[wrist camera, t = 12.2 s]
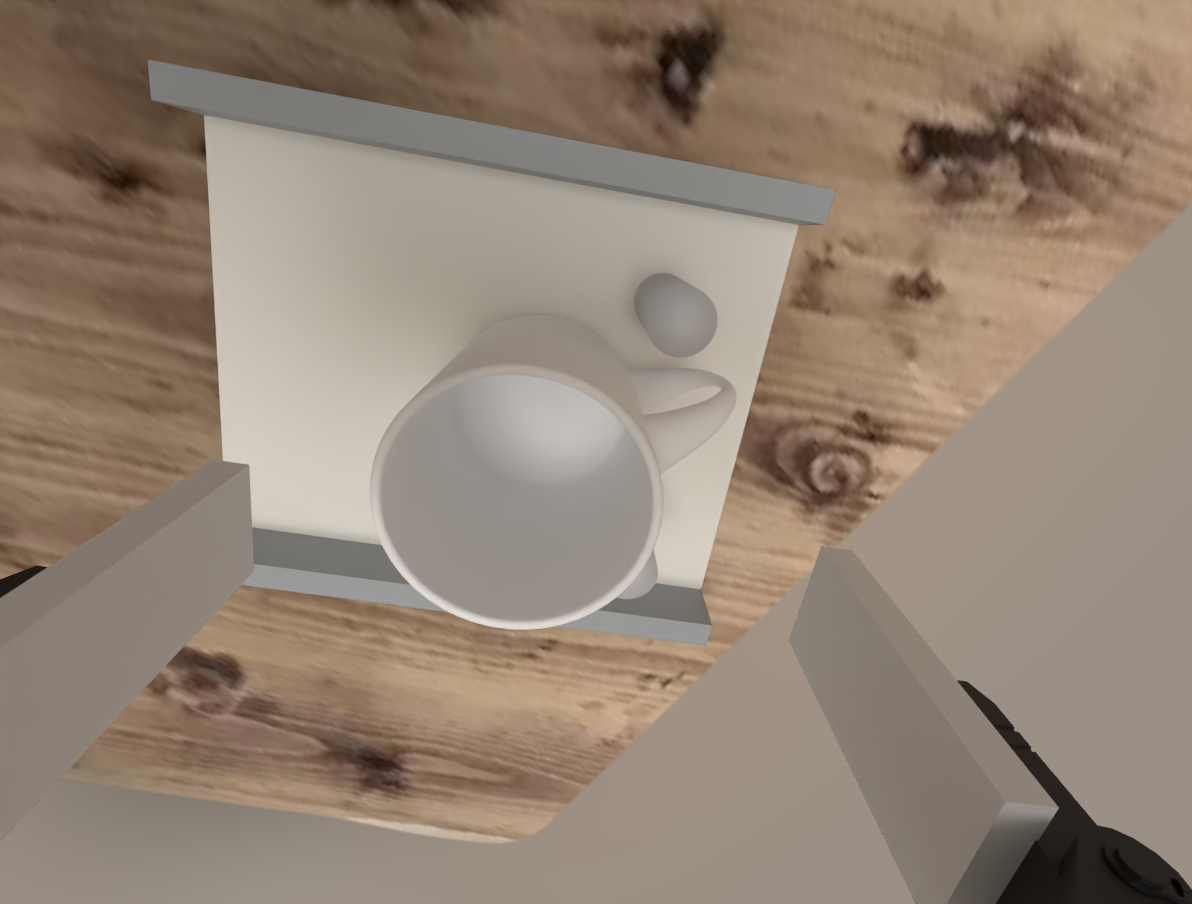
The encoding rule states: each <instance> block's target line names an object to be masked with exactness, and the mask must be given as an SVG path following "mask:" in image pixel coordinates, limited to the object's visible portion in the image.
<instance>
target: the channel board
mask: <svg viewBox="0 0 1192 904" xmlns="http://www.w3.org/2000/svg"><path fill="white" fill-rule="evenodd" d="M148 68H149V80H150V92H151V100H153V101H157V102H160V103H164V104H167V105H171V106H174V107H178V108H181V109H184V110H188V111H191V112H195V113H198V114H202V115H204V124H205V142H206V160H207V178H208V196H209V214H210V232H211V250H212V268H213V286H214V304H215V322H216V340H217V359H218V377H219V395H220V413H221V431H222V449H223V461H227V462H234V463H241V464H248V465H249V470H250V491H251V513H252V535H253V557H254V572H253V573H252V574H251V575H250V576H249V577H248V578H247V579H246V580H245V581H244V582H243V584H242V585H247V586H255V587H262V588H270V589H277V590H285V591H292V592H300V593H308V594H315V595H323V596H330V597H338V598H346V599H353V600H361V601H368V602H376V603H384V604H391V605H399V606H406V607H414V608H421V609H429V610H437V611H444V612H448V611H446V610H444V609H442V608H440V607H439V606H437V605H436V604H434V603H432V602H431V601H429V600H428V599H427V598H425V597H424V596H423V595H422V594H420V593H419V592H418V591H417V590H416V589H414V588H413V587H412V586H411V585H410V584H409V583H408V582H407V580H406V579H405V578H404V577H403V576H402V575H401V574H400V573H399V571H398V570H397V569H396V567H395V566H394V565H393V563H392V562H391V560H390V559H389V557H388V555H387V553H386V552H385V550H384V548H383V546H382V544H381V541H380V539H379V536H378V534H377V531H376V528H375V524H374V520H373V516H372V511H371V502H370V476H371V471H372V466H373V461H374V458H375V455H376V452H377V449H378V446H379V443H380V441H381V439H382V438H383V436H384V434H385V432H386V430H387V428H388V426H389V425H390V424H391V422H392V421H393V420H394V418H395V417H396V416H397V414H398V413H399V412H400V411H401V410H402V409H403V408H404V407H405V406H406V405H407V404H408V403H409V402H410V401H411V400H412V399H413V398H414V397H415V396H416V395H417V394H418V393H419V392H420V391H421V390H422V389H423V388H424V387H425V386H426V385H427V384H428V383H429V382H430V381H431V380H432V379H433V378H434V377H435V376H436V375H437V374H438V373H439V372H440V371H441V370H442V369H443V368H444V367H445V366H446V365H447V364H448V363H449V362H450V361H451V360H452V359H453V358H454V357H455V356H456V355H457V354H458V353H459V352H460V351H461V350H463V349H464V348H465V347H466V346H467V345H468V344H469V343H470V342H471V341H472V340H473V339H474V338H476V337H477V336H478V335H480V334H481V333H482V332H484V331H485V330H487V329H489V328H491V327H492V326H494V325H496V324H498V323H501V322H503V321H506V320H508V319H512V318H516V317H520V316H528V315H550V316H556V317H562V318H565V319H568V320H572V321H575V322H577V323H579V324H581V325H583V326H586V327H587V328H589V329H591V330H592V331H594V332H595V333H597V334H598V335H600V336H601V337H602V338H603V339H604V340H605V341H607V342H608V343H609V344H610V346H611V347H612V348H613V349H614V350H615V351H616V352H617V354H618V355H619V357H620V358H621V360H622V361H623V363H624V364H625V366H626V367H627V369H629V370H641V369H654V368H692V369H699V370H704V371H708V372H712V373H715V374H717V375H720V376H722V377H724V378H725V379H727V380H728V381H729V382H730V383H732V385H733V386H734V388H735V390H736V399H737V400H736V403H735V407H734V409H733V411H732V413H731V415H730V416H729V418H728V420H727V421H726V422H725V423H724V424H723V426H722V427H721V428H720V429H719V430H718V431H717V432H716V433H715V434H714V435H713V436H712V437H711V438H710V439H709V440H707V441H706V442H705V443H704V444H702V445H701V446H700V447H699V448H697V449H696V450H695V451H693V452H692V453H690V454H689V455H688V456H686V457H685V458H683V459H682V460H680V461H679V462H677V463H676V464H675V465H673V466H672V467H670V468H669V469H667V470H666V471H665V472H663V473H662V474H661V475H660V476H661V481H662V486H663V515H662V522H661V527H660V531H659V536H658V539H657V541H656V544H655V546H654V549H653V551H652V553H651V555H650V557H649V559H648V561H647V562H646V564H645V566H644V567H643V569H642V570H641V571H640V573H639V574H638V576H637V577H636V578H635V580H634V581H633V582H632V583H631V584H630V585H629V586H628V587H627V588H626V589H625V590H624V591H623V592H622V593H621V594H620V595H619V596H617V597H616V598H615V599H614V600H612V601H611V602H610V603H608V604H607V605H605V606H603V607H602V608H600V609H599V610H597V611H595V612H593V613H591V614H589V615H587V616H585V617H583V618H580V619H578V620H575V621H572V622H569V623H566V624H563V625H558V627H566V628H573V629H581V630H588V631H596V632H604V633H611V634H619V635H626V636H634V637H641V638H649V639H657V640H664V641H672V642H679V643H687V644H695V645H702V646H706V645H707V642H708V638H709V634H710V631H711V627H712V624H711V621H710V617H709V614H708V611H707V608H706V604H705V601H704V598H703V595H702V591H701V587H702V583H703V580H704V576H705V572H706V569H707V565H708V561H709V557H710V554H711V550H712V546H713V543H714V539H715V535H716V531H717V528H718V524H719V520H720V517H721V513H722V509H723V505H724V502H725V498H726V494H727V491H728V487H729V483H730V479H731V476H732V472H733V468H734V465H735V461H736V457H737V453H738V450H739V446H740V442H741V438H742V435H743V431H744V427H745V424H746V420H747V416H748V412H749V409H750V405H751V401H752V398H753V394H754V390H755V386H756V383H757V379H758V375H759V372H760V368H761V364H762V360H763V357H764V353H765V349H766V346H767V342H768V338H769V334H770V331H771V327H772V323H773V320H774V316H775V312H776V308H777V305H778V301H779V297H780V294H781V290H782V286H783V282H784V279H785V275H786V271H787V268H788V264H789V260H790V256H791V253H792V249H793V245H794V241H795V238H796V234H797V230H798V227H799V225H826V222H827V219H828V215H829V212H830V208H831V205H832V201H833V198H834V194H835V190H834V189H829V188H824V187H818V186H813V185H808V184H803V183H797V182H792V181H787V180H781V179H776V178H771V177H766V176H760V175H755V174H750V173H745V172H739V171H734V170H729V169H723V168H718V167H713V166H708V165H702V164H697V163H692V162H687V161H681V160H676V159H671V158H665V157H660V156H655V155H650V154H644V153H639V152H634V151H628V150H623V149H618V148H613V147H607V146H602V145H597V144H592V143H586V142H581V141H576V140H570V139H565V138H560V137H555V136H549V135H544V134H539V133H534V132H528V131H523V130H518V129H512V128H507V127H502V126H497V125H491V124H486V123H481V122H476V121H470V120H465V119H460V118H454V117H449V116H444V115H439V114H433V113H428V112H423V111H417V110H412V109H407V108H402V107H396V106H391V105H386V104H381V103H375V102H370V101H365V100H359V99H354V98H349V97H344V96H338V95H333V94H328V93H323V92H317V91H312V90H307V89H301V88H296V87H291V86H286V85H280V84H275V83H270V82H265V81H259V80H254V79H249V78H243V77H238V76H233V75H228V74H222V73H217V72H212V71H207V70H201V69H196V68H191V67H185V66H180V65H175V64H170V63H164V62H159V61H154V60H148ZM720 391H721V389H720V388H718V387H713V386H709V387H702V388H698V389H694V390H691V391H688V392H685V393H683V394H680V395H678V396H676V397H674V398H672V399H670V400H668V401H666V402H665V403H663V404H661V405H660V406H658V407H656V408H655V409H653V410H652V411H650V412H649V413H648V414H654V413H660V412H666V411H671V410H676V409H680V408H684V407H687V406H691V405H694V404H697V403H700V402H702V401H705V400H707V399H709V398H711V397H713V396H715V395H716V394H718V393H719V392H720Z"/></svg>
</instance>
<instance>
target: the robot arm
mask: <svg viewBox="0 0 1192 904" xmlns="http://www.w3.org/2000/svg"><path fill="white" fill-rule="evenodd" d="M253 572H254V557H253V535H252V513H251V491H250V470H249V465H248V464H241V463H234V462H227V461H220V460H212V461H210V462H209V463H207V464H206V465H204V466H202V467H201V468H199V469H198V470H196V471H195V472H193V473H192V474H190V475H189V476H187V477H186V478H184V479H182V480H181V481H179V482H178V483H176V484H175V485H173V486H172V487H170V488H169V489H167V490H166V491H164V492H163V493H161V494H159V495H158V496H156V497H155V498H153V499H152V500H150V501H149V502H147V503H146V504H144V505H143V506H141V507H139V508H138V509H136V510H135V511H133V512H132V513H130V514H129V515H127V516H126V517H124V518H123V519H121V520H120V521H118V522H116V523H115V524H113V525H112V526H110V527H109V528H107V529H106V530H104V531H103V532H101V533H100V534H98V535H96V536H95V537H93V538H92V539H90V540H89V541H87V542H86V543H84V544H83V545H81V546H80V547H78V548H76V549H75V550H73V551H72V552H70V553H69V554H67V555H66V556H64V557H63V558H61V559H60V560H58V561H57V562H55V563H53V564H52V565H50V566H49V567H42V566H34V567H32V568H29V569H27V570H24V571H21V572H19V573H16V574H14V575H11V576H8V577H6V578H3V579H0V842H1V841H2V840H3V839H4V838H5V837H6V836H7V835H8V834H9V833H10V832H11V830H12V829H13V828H14V827H15V826H16V825H17V824H18V823H19V822H20V821H21V820H22V819H23V818H24V817H25V815H26V814H27V813H28V812H29V811H30V810H31V809H32V808H33V807H34V806H35V805H36V804H37V803H38V802H39V801H40V799H41V798H42V797H43V796H44V795H45V794H46V793H47V792H48V791H49V790H50V789H51V788H52V786H54V784H55V783H56V782H57V781H58V780H59V779H60V778H61V777H62V776H63V775H64V774H65V773H66V772H67V771H68V770H69V768H70V767H71V766H72V765H73V764H74V763H75V762H76V761H77V760H78V759H79V758H80V757H81V756H82V755H83V754H84V752H85V751H86V750H87V749H88V748H89V747H90V746H91V745H92V744H93V743H94V742H95V741H96V740H97V739H98V737H99V736H100V735H101V734H102V733H103V732H104V731H105V730H106V729H107V728H108V727H109V726H110V725H111V724H112V723H113V721H114V720H115V719H116V718H117V717H118V716H119V715H120V714H121V713H122V712H123V711H124V710H125V709H126V708H127V706H128V705H129V704H130V703H131V702H132V701H133V700H134V699H135V698H136V697H137V696H138V695H139V694H140V693H141V692H142V690H143V689H144V688H145V687H146V686H147V685H148V684H149V683H150V682H151V681H152V680H153V679H154V678H155V677H156V675H157V674H158V673H159V672H160V671H161V670H162V669H163V668H164V667H165V666H166V665H167V664H168V663H169V662H170V661H171V659H172V658H173V657H174V656H175V655H176V654H177V653H178V652H179V651H180V650H181V649H182V648H183V647H184V646H185V644H186V643H187V642H188V641H189V640H190V639H191V638H192V637H193V636H194V635H195V634H196V633H197V632H198V631H199V630H200V628H201V627H202V626H203V625H204V624H205V623H206V622H207V621H208V620H209V619H210V618H211V617H212V616H213V615H214V613H215V612H216V611H217V610H218V609H219V608H220V607H221V606H222V605H223V604H224V603H225V602H226V601H227V600H228V599H229V597H230V596H231V595H232V594H233V593H234V592H235V591H236V590H237V589H238V588H239V587H240V586H241V585H242V584H243V582H244V581H245V580H246V579H247V578H248V577H249V576H250V575H251V574H252V573H253ZM789 642H790V644H791V646H792V648H793V650H794V652H795V654H796V656H797V658H798V661H799V663H800V665H801V667H802V669H803V671H804V673H805V675H806V677H807V679H808V681H809V683H810V685H811V688H812V690H813V692H814V694H815V696H816V698H817V700H818V702H819V704H820V706H821V708H822V710H823V712H824V715H825V716H826V719H827V720H828V723H829V725H830V727H831V729H832V731H833V733H834V735H835V737H836V739H837V741H838V744H839V746H840V748H841V750H842V752H843V754H844V756H845V758H846V760H847V762H848V764H849V766H850V768H851V771H852V773H853V775H854V777H855V779H856V781H857V783H858V785H859V787H860V789H861V791H862V793H863V795H864V797H865V800H866V802H867V804H868V806H869V808H870V810H871V812H872V814H873V816H874V818H875V820H876V822H877V825H878V827H879V829H880V831H881V833H882V835H883V837H884V839H885V841H886V843H887V845H888V847H889V849H890V851H891V854H892V856H893V858H894V860H895V862H896V864H897V866H898V868H899V870H900V872H901V874H902V876H903V878H904V880H905V882H906V884H907V887H908V889H909V891H910V893H911V895H912V897H913V899H914V901H915V903H916V904H1192V889H1191V888H1190V887H1189V886H1188V884H1187V883H1186V882H1185V881H1184V879H1183V878H1182V877H1181V876H1180V875H1179V873H1178V872H1177V871H1176V870H1175V869H1173V868H1172V867H1171V866H1170V865H1169V864H1168V863H1167V862H1166V861H1164V860H1163V859H1162V858H1161V857H1160V856H1159V855H1157V854H1156V853H1155V852H1153V851H1152V850H1150V849H1149V848H1147V847H1146V846H1144V845H1143V844H1141V843H1140V842H1138V841H1136V840H1135V839H1134V838H1132V837H1129V836H1127V835H1125V834H1123V833H1121V832H1118V831H1116V830H1114V829H1111V828H1107V827H1102V826H1097V825H1096V823H1095V822H1094V821H1093V820H1092V819H1091V818H1090V816H1089V815H1088V814H1087V813H1086V812H1085V810H1084V809H1083V808H1082V807H1081V806H1080V805H1079V804H1078V802H1077V801H1076V800H1075V799H1074V797H1073V796H1072V795H1071V794H1070V793H1069V791H1068V790H1067V789H1066V788H1065V787H1064V786H1063V784H1062V783H1061V782H1060V781H1059V780H1058V778H1057V777H1056V776H1055V775H1054V774H1053V773H1052V771H1051V770H1050V769H1049V768H1048V767H1047V765H1046V764H1045V763H1044V762H1043V761H1042V759H1041V758H1040V757H1039V756H1038V755H1037V754H1036V752H1032V751H1031V746H1030V745H1029V744H1028V743H1027V742H1026V740H1025V739H1024V738H1023V737H1022V736H1021V734H1020V733H1019V732H1015V731H1014V727H1013V725H1012V724H1011V723H1010V721H1009V720H1008V719H1007V718H1006V717H1005V716H1004V714H1003V713H1002V712H1001V711H1000V710H999V708H998V707H997V706H996V705H995V704H994V703H993V702H992V701H991V700H989V699H988V698H987V697H986V696H984V695H983V694H982V693H981V692H979V691H978V690H977V689H976V688H974V687H973V686H972V685H971V684H969V683H968V682H966V681H957V680H956V679H955V678H954V677H953V675H952V674H951V673H950V672H949V670H948V669H947V668H946V667H945V665H944V664H943V663H942V662H941V661H940V659H939V658H938V657H937V655H936V654H935V653H934V652H933V650H932V649H931V648H930V647H929V645H928V644H927V643H926V642H925V641H924V639H923V638H922V637H921V635H920V634H919V633H918V632H917V631H916V629H915V628H914V627H913V625H912V624H911V623H910V622H909V620H908V619H907V618H906V617H905V615H904V614H903V613H902V612H901V611H900V609H899V608H898V607H897V606H896V604H895V603H894V602H893V601H892V599H891V598H890V597H889V596H888V594H887V593H886V592H885V591H884V589H883V588H882V587H881V586H880V584H879V583H878V582H877V581H876V580H875V578H874V577H873V576H872V574H871V573H870V572H869V571H868V569H867V568H866V567H865V566H864V564H863V563H862V562H861V561H860V559H859V558H858V557H857V556H856V555H855V553H854V552H853V551H852V550H845V549H838V548H831V547H824V546H821V549H820V552H819V555H818V557H817V560H816V563H815V566H814V569H813V572H812V575H811V578H810V580H809V583H808V586H807V589H806V592H805V595H804V598H803V600H802V603H801V606H800V609H799V612H798V615H797V618H796V620H795V624H794V626H793V629H792V632H791V635H790V638H789Z"/></svg>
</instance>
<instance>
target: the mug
mask: <svg viewBox="0 0 1192 904" xmlns="http://www.w3.org/2000/svg"><path fill="white" fill-rule="evenodd" d="M709 386H713V387H718V388H720V389H721V391H720V392H719V393H718V394H716V395H715V396H713V397H711V398H709V399H707V400H705V401H702V402H700V403H697V404H694V405H691V406H687V407H684V408H680V409H676V410H671V411H666V412H660V413H654V414H648V413H649V412H650V411H652V410H653V409H655V408H656V407H658V406H660V405H661V404H663V403H665V402H666V401H668V400H670V399H672V398H674V397H676V396H678V395H680V394H683V393H685V392H688V391H691V390H694V389H698V388H702V387H709ZM736 400H737V399H736V390H735V388H734V386H733V385H732V383H730V382H729V381H728V380H727V379H725V378H724V377H722V376H720V375H717V374H715V373H712V372H708V371H704V370H699V369H692V368H654V369H641V370H629V369H627V367H626V366H625V364H624V363H623V361H622V360H621V358H620V357H619V355H618V354H617V352H616V351H615V350H614V349H613V348H612V347H611V346H610V344H609V343H608V342H607V341H605V340H604V339H603V338H602V337H601V336H600V335H598V334H597V333H595V332H594V331H592V330H591V329H589V328H587V327H586V326H583V325H581V324H579V323H577V322H575V321H572V320H568V319H565V318H562V317H556V316H550V315H528V316H520V317H516V318H512V319H508V320H506V321H503V322H501V323H498V324H496V325H494V326H492V327H491V328H489V329H487V330H485V331H484V332H482V333H481V334H480V335H478V336H477V337H476V338H474V339H473V340H472V341H471V342H470V343H469V344H468V345H467V346H466V347H465V348H464V349H463V350H461V351H460V352H459V353H458V354H457V355H456V356H455V357H454V358H453V359H452V360H451V361H450V362H449V363H448V364H447V365H446V366H445V367H444V368H443V369H442V370H441V371H440V372H439V373H438V374H437V375H436V376H435V377H434V378H433V379H432V380H431V381H430V382H429V383H428V384H427V385H426V386H425V387H424V388H423V389H422V390H421V391H420V392H419V393H418V394H417V395H416V396H415V397H414V398H413V399H412V400H411V401H410V402H409V403H408V404H407V405H406V406H405V407H404V408H403V409H402V410H401V411H400V412H399V413H398V414H397V416H396V417H395V418H394V420H393V421H392V422H391V424H390V425H389V426H388V428H387V430H386V432H385V434H384V436H383V438H382V439H381V441H380V443H379V446H378V449H377V452H376V455H375V458H374V461H373V466H372V471H371V476H370V502H371V511H372V516H373V520H374V524H375V528H376V531H377V534H378V536H379V539H380V541H381V544H382V546H383V548H384V550H385V552H386V553H387V555H388V557H389V559H390V560H391V562H392V563H393V565H394V566H395V567H396V569H397V570H398V571H399V573H400V574H401V575H402V576H403V577H404V578H405V579H406V580H407V582H408V583H409V584H410V585H411V586H412V587H413V588H414V589H416V590H417V591H418V592H419V593H420V594H422V595H423V596H424V597H425V598H427V599H428V600H429V601H431V602H432V603H434V604H436V605H437V606H439V607H440V608H442V609H444V610H446V611H448V612H450V613H452V614H454V615H456V616H458V617H461V618H463V619H466V620H469V621H472V622H474V623H478V624H482V625H486V626H491V627H497V628H504V629H523V630H529V629H540V628H548V627H553V626H558V625H563V624H566V623H569V622H572V621H575V620H578V619H580V618H583V617H585V616H587V615H589V614H591V613H593V612H595V611H597V610H599V609H600V608H602V607H603V606H605V605H607V604H608V603H610V602H611V601H612V600H614V599H615V598H616V597H617V596H619V595H620V594H621V593H622V592H623V591H624V590H625V589H626V588H627V587H628V586H629V585H630V584H631V583H632V582H633V581H634V580H635V578H636V577H637V576H638V574H639V573H640V571H641V570H642V569H643V567H644V566H645V564H646V562H647V561H648V559H649V557H650V555H651V553H652V551H653V549H654V546H655V544H656V541H657V539H658V536H659V531H660V527H661V522H662V515H663V486H662V481H661V476H660V475H661V474H662V473H663V472H665V471H666V470H667V469H669V468H670V467H672V466H673V465H675V464H676V463H677V462H679V461H680V460H682V459H683V458H685V457H686V456H688V455H689V454H690V453H692V452H693V451H695V450H696V449H697V448H699V447H700V446H701V445H702V444H704V443H705V442H706V441H707V440H709V439H710V438H711V437H712V436H713V435H714V434H715V433H716V432H717V431H718V430H719V429H720V428H721V427H722V426H723V424H724V423H725V422H726V421H727V420H728V418H729V416H730V415H731V413H732V411H733V409H734V407H735V403H736Z"/></svg>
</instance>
